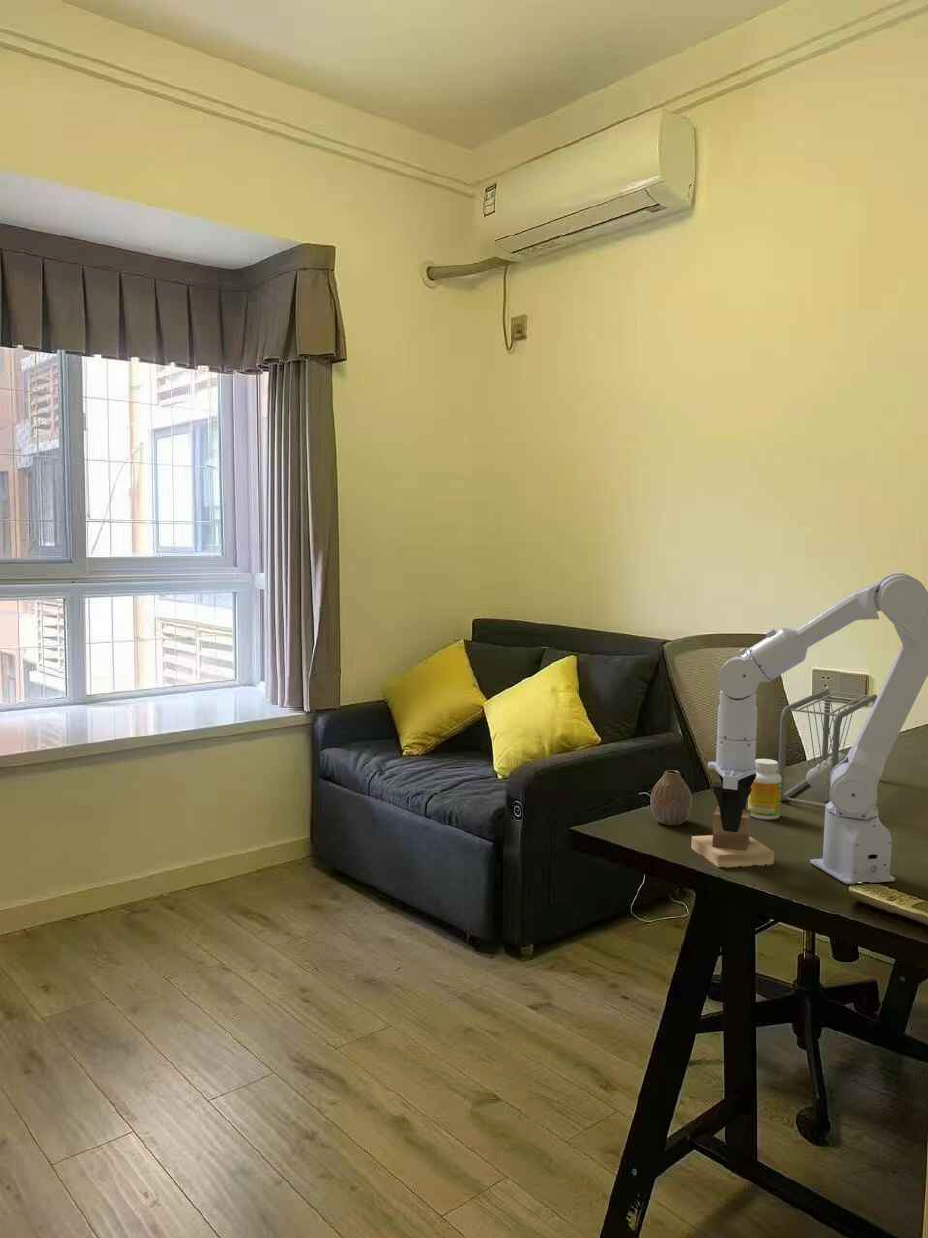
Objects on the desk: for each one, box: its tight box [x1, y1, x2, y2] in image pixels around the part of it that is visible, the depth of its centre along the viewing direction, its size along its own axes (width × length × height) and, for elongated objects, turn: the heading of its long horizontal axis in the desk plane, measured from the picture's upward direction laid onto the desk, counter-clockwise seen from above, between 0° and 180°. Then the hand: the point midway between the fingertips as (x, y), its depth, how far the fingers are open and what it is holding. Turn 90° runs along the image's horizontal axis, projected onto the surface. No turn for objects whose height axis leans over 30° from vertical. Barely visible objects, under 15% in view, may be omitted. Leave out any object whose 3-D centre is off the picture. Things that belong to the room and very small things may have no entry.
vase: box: [649, 769, 693, 826], centre depth 167 cm, size 7×7×9 cm
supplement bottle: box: [747, 758, 782, 820], centre depth 172 cm, size 5×5×10 cm
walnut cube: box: [712, 805, 752, 851], centre depth 150 cm, size 5×5×5 cm
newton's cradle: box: [777, 688, 878, 807], centre depth 189 cm, size 30×10×18 cm, turn 145°
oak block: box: [691, 834, 775, 868], centre depth 150 cm, size 9×9×2 cm
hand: (732, 824), depth 150 cm, fingers open, 6 cm apart
